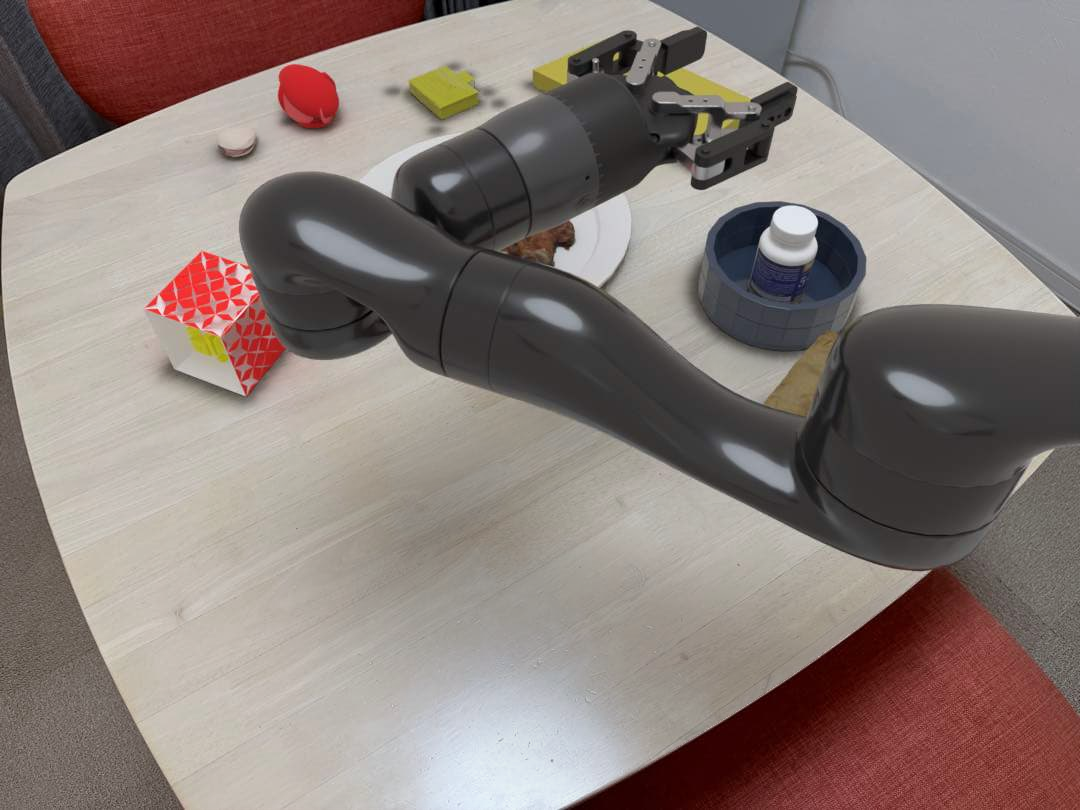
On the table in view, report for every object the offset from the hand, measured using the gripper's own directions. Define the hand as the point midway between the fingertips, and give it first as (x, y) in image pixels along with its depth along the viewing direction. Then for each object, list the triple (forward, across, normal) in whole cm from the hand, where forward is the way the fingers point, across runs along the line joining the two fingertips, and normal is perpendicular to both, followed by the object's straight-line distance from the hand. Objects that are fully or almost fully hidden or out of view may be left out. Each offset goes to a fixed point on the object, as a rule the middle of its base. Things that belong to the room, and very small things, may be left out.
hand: (745, 67), depth 61 cm
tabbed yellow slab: (+4, +47, +28) cm, 55 cm away
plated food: (-7, +24, +28) cm, 38 cm away
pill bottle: (+10, 0, +28) cm, 30 cm away
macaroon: (-21, +53, +28) cm, 63 cm away
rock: (+1, -15, +28) cm, 32 cm away
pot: (+10, 0, +28) cm, 30 cm away
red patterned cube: (-35, +24, +28) cm, 51 cm away
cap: (-11, +53, +28) cm, 61 cm away
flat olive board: (+22, +32, +28) cm, 48 cm away
